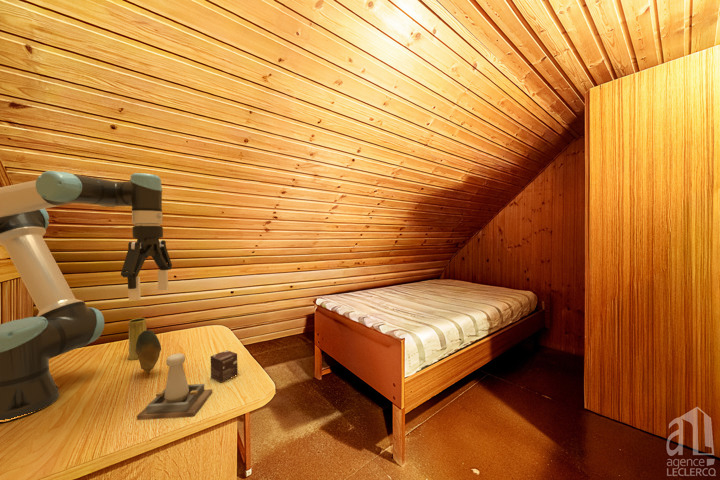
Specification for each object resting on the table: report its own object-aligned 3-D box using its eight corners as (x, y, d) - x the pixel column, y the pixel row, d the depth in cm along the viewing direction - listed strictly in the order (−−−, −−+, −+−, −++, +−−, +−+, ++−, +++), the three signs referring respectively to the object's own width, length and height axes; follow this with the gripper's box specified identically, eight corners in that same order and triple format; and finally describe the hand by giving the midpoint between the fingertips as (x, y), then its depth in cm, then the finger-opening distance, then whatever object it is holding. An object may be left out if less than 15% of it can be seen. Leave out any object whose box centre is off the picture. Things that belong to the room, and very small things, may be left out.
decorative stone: (130, 375, 97) (129, 331, 96) (150, 367, 102) (148, 325, 102) (147, 381, 93) (146, 335, 92) (167, 373, 98) (166, 329, 98)
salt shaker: (194, 396, 82) (193, 351, 82) (177, 408, 77) (176, 360, 76) (176, 394, 83) (175, 350, 83) (159, 406, 78) (157, 358, 77)
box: (221, 383, 91) (220, 360, 91) (210, 378, 95) (209, 356, 94) (238, 375, 97) (237, 353, 96) (227, 370, 100) (226, 349, 99)
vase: (151, 355, 112) (150, 319, 112) (132, 361, 107) (131, 323, 107) (144, 351, 115) (143, 316, 115) (125, 357, 110) (124, 320, 110)
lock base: (137, 419, 74) (136, 405, 74) (162, 395, 85) (162, 383, 85) (194, 416, 75) (193, 402, 75) (212, 392, 86) (211, 380, 86)
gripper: (132, 224, 76) (134, 304, 77) (182, 225, 101) (184, 286, 102) (101, 224, 75) (104, 305, 76) (159, 226, 100) (161, 286, 101)
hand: (150, 294), depth 89 cm, fingers open, 13 cm apart
